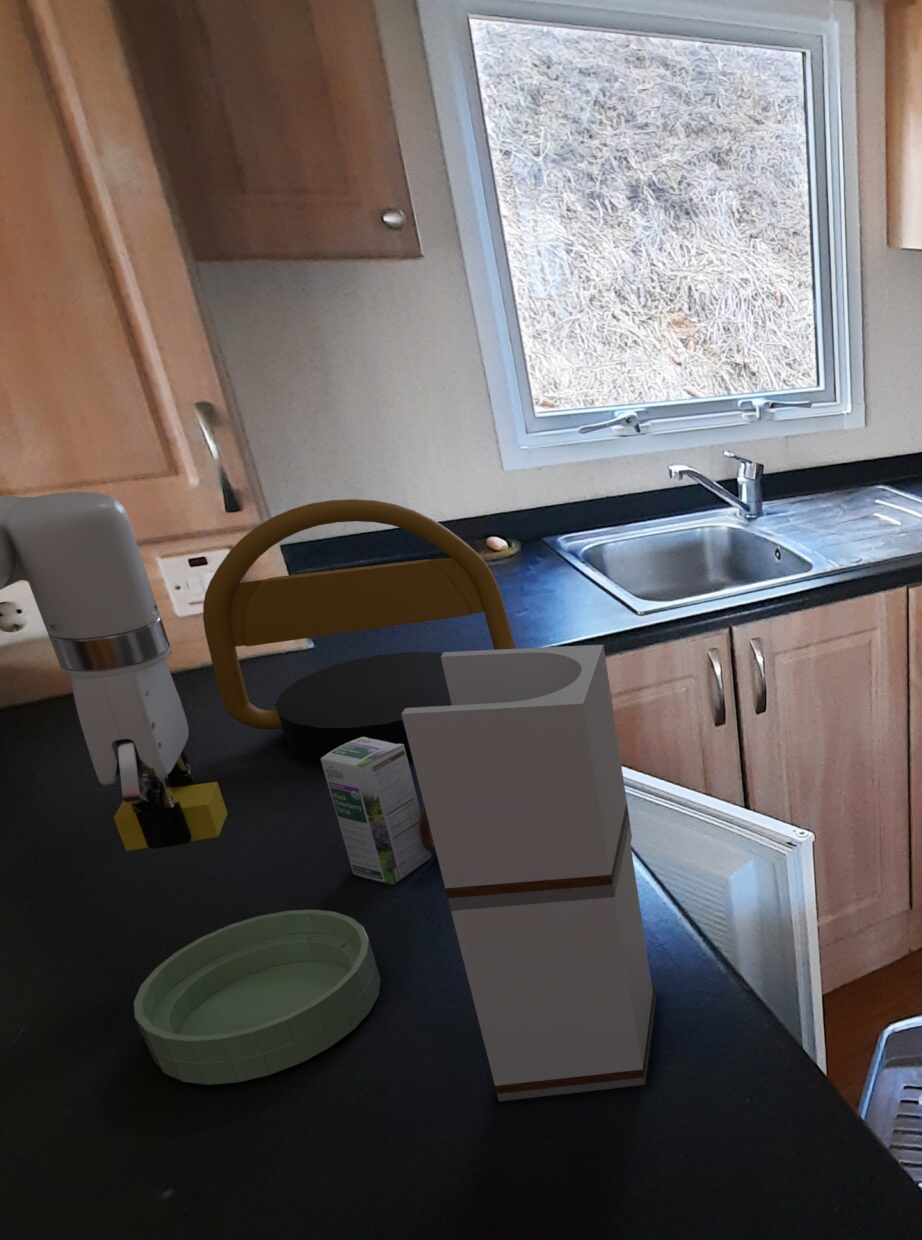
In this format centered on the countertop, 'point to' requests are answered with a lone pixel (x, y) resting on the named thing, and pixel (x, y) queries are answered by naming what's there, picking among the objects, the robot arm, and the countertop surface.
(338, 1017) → the bowl
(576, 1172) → the countertop surface
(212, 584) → the chair
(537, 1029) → the striped white pedestal
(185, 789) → the sponge
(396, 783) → the syrup box
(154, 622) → the robot arm
